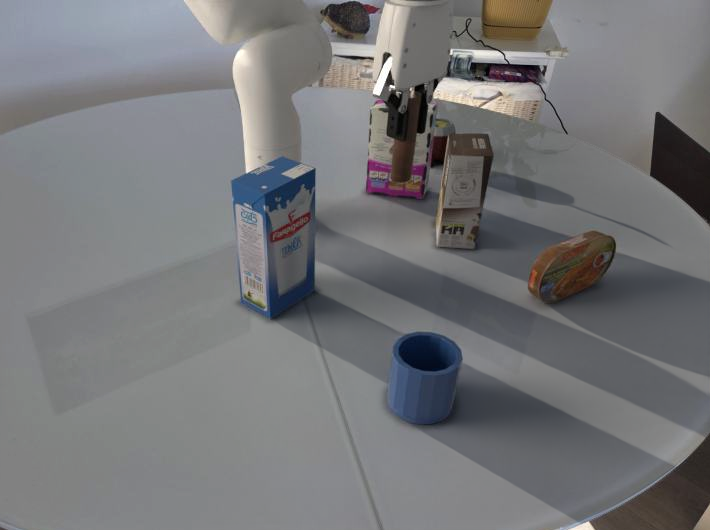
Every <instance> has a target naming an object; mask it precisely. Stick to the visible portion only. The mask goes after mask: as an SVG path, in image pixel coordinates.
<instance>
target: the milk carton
mask: <svg viewBox="0 0 710 530" xmlns="http://www.w3.org/2000/svg"><path fill="white" fill-rule="evenodd" d="M316 170H317V168H316V167H314V166H311V165H308V164H306V163H302V162H301V163H299V162H297V161H294V160H291V159H288V158H285V157H280V158H278V159H275V160H273V161H271V162H269V163H267V164H265V165H263V166H261V167H259V168H257V169H254V170H252V171H250V172H248V173H246V172H245V173H243V174H242V175H240V176H238V177H235V178H234V179H233V178H232V180H230V184H231V195H232V208H233V210H232V211H233V221H234V232H235V244H236V246H235V247H236V257H237V268H238V269H237V271H238V281H239V293H240V303H241V304H242V305H244V306H246V307H248V308H250V309H251V310H253V311H254V312H256V313H259V314H260V315H262V316H263V317H265V318H267V319H269V320H271V319H273V318H274V317H277V316H278V315H279V314H281V313H282V312H283V311H285V310H287V309H288V308H290V307H291V306H293V305H294V304H296V303H298V302H299V301H301V300H302V299H304V298H305V297H307V296H309V295H310V294H311V293H313V292H314V291H315V290H316V289H315V283H316V282H315V281H316V280H315V279H316V271H315V270H316V269H315V268H316V177H317V175H316V174H317V173H316V172H317V171H316Z"/></svg>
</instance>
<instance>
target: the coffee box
mask: <svg viewBox="0 0 710 530" xmlns="http://www.w3.org/2000/svg"><path fill="white" fill-rule="evenodd" d="M490 139H491V138H490V135H489V133H477V132H476V133H473V132H471V133H456V134H448V140H447V147H446V154H445V160H444V164H443V167H442V168H443V169H442V176H441V183H440V188H439V197H438V205H437V211H436V216H435V234H436V235H435V236H436V247H438V248H450V249H465V250H474V249H475V248H476V244H477V239H478V235H479V229H480V225H481V220H482V214H483V209H484V204H485V201H486V200H485V199H486V196H487V195H486V194H487V191H488V190H487V189H488V186H489V180H490V176H491V170H492V166H493V162H494V161H493V160H494V158H495V155H494V151H493V147H492V143H491V140H490Z"/></svg>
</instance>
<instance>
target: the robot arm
mask: <svg viewBox="0 0 710 530" xmlns="http://www.w3.org/2000/svg"><path fill="white" fill-rule="evenodd" d="M182 1H183V2H184V3H185V5H186V7H187V8H188V9H189V10H190V11H191V13H192V14H193V16H194V17H195V18H196V20H197V21H198V22H199V24H200V25H201V26H202V27H203V28H204V30H205V31H206V32H207V34H208V35H209V36H210V37H211V39H213V40H214V41H215V42H216V43H218V44H219V45H223V46H233V45H236V44H240V43H243V42H245V43H244V44H243V45H242V46H240V48H239V49H238V51H237V52H236V54H235V56H234V59H233V63H232V78H233V83H234V87H235V91H236V94H237V97H238V103H239V106H240V112H241V113H240V114H241V122H242V136H243V146H244V147H243V149H244V161H245V163H244V164H245V174H246V173H248V172H250V171H252V170H254V169H257V168H259V167H261V166H263V165H265V164H267V163H269V162H271V161H273V160H275V159H278V158H280V157H285V158H288V159H291V160H294V161H297V162H299V163H302V123H301V119H300V115H299V112H298V111H297V109H296V106H295V104H294V101H293V95H294V94H295V93H297V92H299V91H301V90H303V89H306V88H307V87H309V86H312V85H314V84H316V83H317V82H319V81H320V80H322V79H324V78H325V76H326V75H327V74H328V72H329V71H330V69H331V67H332V64H333V47H332V43H331V40H330V38H329V36H328V34H327V32H326V30H325V29H324V27H323V25H322V24H321V22H320V21H319V20H318V19H317V18H316V16H315V15H314V14H313V12H312V10H311V9H310V8H309V7H308V5H307V4H306V3H305V2H304V0H182ZM454 2H455V1H454V0H386V1H385V2H384V6H383V8H382V12H381V14H380V15H381V16H380V19H379V25H378V29H377V30H378V31H377V35H376V39H375V48H374V55H373V63H372V82H373V83H374V84H375V86H374V89H373V92H372V96H373V97H374V98H376V99H377V100H382V101H383V102H384V103H385V107H386V108H388V120H387V131H386V135H387V136H388V137H390V138H393V139H396V140H398V141H401V142H403V141H405V140H406V138H407V130H408V121H409V112H407V111H406V109H407V104H408V98H409V92H410V91H417V92H420V93H421V94H422V96H421V104H420V112H419V120H418V128H417V133H419V134H423V133H424V132H425V128H426V120H427V113H428V105H427V104H429V103H432V101H433V99H434V93H435V91H436V89H437V88H438V86H439V84H440V83H441V82H442V81H443V80H444V79H445V77H446V76H448V75H447V74H448V67H449V63H450V57H451V51H452V42H453V33H454V32H453V31H454V16H455V15H454V13H455V11H454V8H455V4H454ZM397 92H398V93H400V98H398V94H397Z"/></svg>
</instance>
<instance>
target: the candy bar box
mask: <svg viewBox="0 0 710 530" xmlns="http://www.w3.org/2000/svg"><path fill="white" fill-rule="evenodd" d="M427 105H428V113H427V120H426V128H425V132H424V133H423V134H419V133H417V136H416V144H415V152H414V160H413V168H412V176H411V180H410V181H408V182H404V183H399V182H394V181H392V180H391V179H390V174H391V164H392V154H393V145H394V139H393V138H390V137H388V136H387V135H386V131H387V120H388V108H386V107H385V103H384V102H383V101H382V100H380V99H376V100H375V102H374V104H373V105H372V106H371V107H370V110H369V128H368V145H367V146H368V147H367V165H366V180H365V193H366V194H373V195H379V196H380V195H381V196H389V197H390V196H391V197H398V198H405V199H406V198H408V199H416V200H424V198H425V195H426V193H427V191H428V188H429V181H430V173H431V167H430V165H431V156H432V148H433V140H434V131H435V123H436V118H437V114H438V103H432V102H431V103H429V104H427Z"/></svg>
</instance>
